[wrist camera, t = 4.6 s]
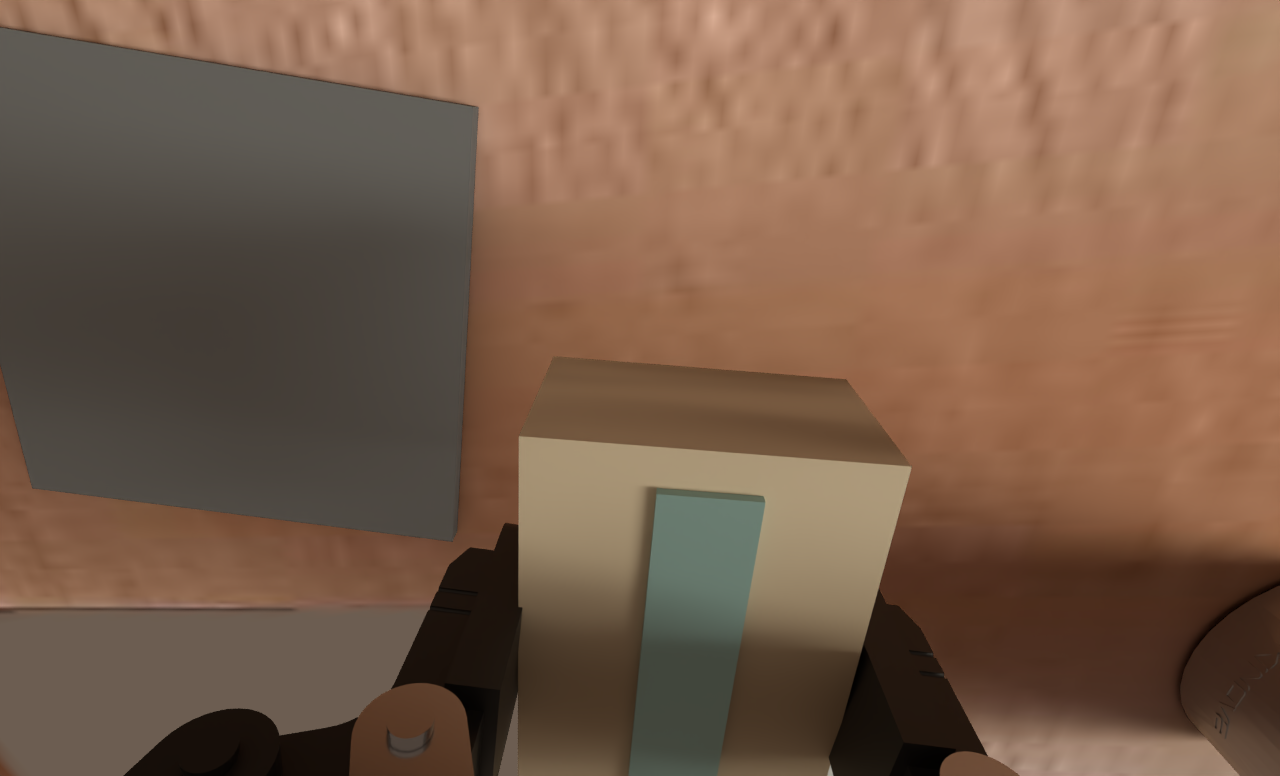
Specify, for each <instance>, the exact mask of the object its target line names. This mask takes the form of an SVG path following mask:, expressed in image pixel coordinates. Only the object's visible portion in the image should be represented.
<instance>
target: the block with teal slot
mask: <svg viewBox="0 0 1280 776" xmlns="http://www.w3.org/2000/svg"><path fill="white" fill-rule="evenodd" d="M911 468H912V466H911V465H910V464H909V462H908V461H907V460H906V458H905V457H904V456H903V454H902V453H901V452H900V450H899V449H898V448H897V446H896V445H895V444H894V442H893V441H892V440H891V438H890V437H889V436H888V434H887V433H886V432H885V430H884V429H883V428H882V426H881V425H880V424H879V422H878V421H877V420H876V418H875V417H874V416H873V414H872V413H871V412H870V410H869V409H868V408H867V406H866V405H865V404H864V402H863V401H862V400H861V398H860V397H859V396H858V394H857V393H856V392H855V390H854V389H853V388H852V386H851V385H850V384H849V383H848V381H847V380H846V379H834V378H822V377H809V376H796V375H784V374H771V373H758V372H745V371H733V370H720V369H707V368H695V367H682V366H669V365H656V364H644V363H631V362H618V361H606V360H593V359H580V358H567V357H555V356H554V357H553V360H552V362H551V364H550V366H549V369H548V371H547V373H546V375H545V378H544V380H543V382H542V385H541V387H540V389H539V391H538V394H537V396H536V398H535V401H534V403H533V405H532V407H531V410H530V412H529V414H528V416H527V419H526V421H525V423H524V426H523V428H522V430H521V432H520V435H519V562H518V607H522V608H523V609H522V619H521V629H520V639H519V649H518V776H827V775H828V771H829V767H830V761H829V755H830V752H831V750H832V747H833V744H834V742H835V739H836V737H837V734H838V731H839V729H840V726H841V723H842V720H843V716H844V713H845V709H846V705H847V702H848V698H849V694H850V691H851V687H852V683H853V680H854V676H855V673H856V669H857V665H858V662H859V658H860V654H861V651H862V647H863V643H864V640H865V636H866V632H867V629H868V625H869V621H870V618H871V614H872V610H873V607H874V603H875V600H876V596H877V592H878V589H879V585H880V581H881V578H882V574H883V570H884V567H885V563H886V559H887V556H888V552H889V548H890V545H891V541H892V537H893V534H894V530H895V526H896V523H897V519H898V516H899V512H900V508H901V505H902V501H903V497H904V494H905V490H906V486H907V483H908V479H909V475H910V472H911Z"/></svg>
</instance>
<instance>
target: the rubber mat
mask: <svg viewBox="0 0 1280 776" xmlns="http://www.w3.org/2000/svg"><path fill="white" fill-rule="evenodd" d="M477 126H478V107H475V106H469V105H463V104H457V103H451V102H445V101H439V100H433V99H427V98H421V97H415V96H409V95H403V94H397V93H391V92H385V91H379V90H373V89H367V88H361V87H355V86H349V85H343V84H337V83H331V82H325V81H319V80H313V79H307V78H301V77H295V76H289V75H283V74H278V73H272V72H266V71H260V70H254V69H248V68H242V67H236V66H230V65H224V64H218V63H212V62H206V61H200V60H194V59H188V58H182V57H176V56H170V55H164V54H158V53H152V52H146V51H140V50H134V49H128V48H122V47H116V46H110V45H104V44H98V43H92V42H86V41H80V40H74V39H68V38H63V37H57V36H51V35H45V34H39V33H33V32H27V31H21V30H15V29H9V28H3V27H0V366H1V369H2V373H3V377H4V381H5V385H6V389H7V393H8V396H9V400H10V404H11V408H12V412H13V416H14V420H15V423H16V427H17V431H18V435H19V439H20V443H21V447H22V450H23V454H24V458H25V462H26V466H27V470H28V474H29V477H30V481H31V485H32V488H34V489H42V490H50V491H58V492H65V493H73V494H81V495H89V496H97V497H105V498H113V499H120V500H128V501H136V502H144V503H152V504H160V505H168V506H175V507H183V508H191V509H199V510H207V511H215V512H223V513H231V514H238V515H246V516H254V517H262V518H270V519H278V520H286V521H293V522H301V523H309V524H317V525H325V526H333V527H341V528H348V529H356V530H364V531H372V532H380V533H388V534H396V535H403V536H411V537H419V538H427V539H435V540H443V541H451V542H453V539H454V537H455V535H456V533H457V523H458V503H459V483H460V464H461V444H462V424H463V404H464V384H465V364H466V344H467V325H468V305H469V285H470V265H471V245H472V225H473V206H474V186H475V166H476V146H477Z"/></svg>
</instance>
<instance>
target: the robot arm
mask: <svg viewBox="0 0 1280 776" xmlns="http://www.w3.org/2000/svg"><path fill="white" fill-rule="evenodd" d="M518 562H519V525H516V524H509V523H505V524H504V526H503V528H502V531H501V533H500V536H499V539H498V541H497V544H496V547H495V549H494V551H493V550H485V549H478V548H469V549H468V550H466V551H465V552H464V553H463V554H462V555H460V556H459V557H458V558H457V559H456V560H455V561H453V562H452V563H451V564H450V565H449V567H448V569H447V571H446V573H445V575H444V578H443V580H442V582H441V584H440V586H439V590H438V592H437V593H436V595H435V597H434V599H433V601H432V603H431V606H430V610H428V612H427V614H426V616H425V619H424V621H423V623H422V625H421V627H420V629H419V631H418V634H417V636H416V638H415V640H414V642H413V645H412V647H411V649H410V651H409V653H408V655H407V657H406V660H405V662H404V664H403V666H402V668H401V670H400V672H399V675H398V677H397V679H396V681H395V683H394V685H393V687H392V688H391V690H389V691H387V692H385V693H383V694H381V695H380V696H379V697H377V698H376V699H374V700H373V701H372V702H371V703H370V704H369V705H368V706H366V708H365V709H364V710H363V712H361V714H360V715H359V717H357V718H355V719H353V720H351V721H349V722H346V723H343V724H340V725H337V726H332V727H328V728H322V729H316V730H310V731H304V732H299V733H292V734H287V735H281V736H279V733H278V730H277V727H276V725H275V724H274V723H273V721H272V720H271V719H270V718H268V717H267V716H266V715H264V714H262V713H260V712H257V711H254V710H250V709H226V710H220V711H216V712H213V713H209V714H206V715H203V716H201V717H199V718H196V719H193V720H191V721H190V722H188V723H186V724H184V725H182V726H181V727H179V728H177V729H176V730H174V731H173V732H171V733H170V734H169V735H168V736H167V737H165V738H164V739H163V740H162V741H161V742H159V743H158V744H157V745H156V746H155V747H154V748H153V749H152V750H151V751H150V752H149V753H148V754H146V755H145V756H144V757H143V758H142V759H141V760H140V761H139V762H138V763H137V764H136V765H134V766H133V768H131V769H130V770H129V771H128V772H127V773H126V774H125V775H124V776H498V773H499V769H500V765H501V760H502V756H503V752H504V748H505V744H506V740H507V735H508V731H509V727H510V723H511V719H512V714H513V710H514V706H515V702H516V698H517V694H518V649H519V639H520V629H521V619H522V609H523V608H522V607H518ZM1180 692H1181V704H1182V706H1183V708H1184V710H1185V713H1186V715H1187V717H1188V719H1189V720H1190V721H1191V722H1192V723H1193V724H1194V725H1195V726H1196V727H1197V728H1198V730H1199V731H1200V732H1201V733H1202V734H1203V735H1204V736H1205V737H1206V738H1207V740H1208V741H1209V742H1210V743H1211V744H1212V745H1213V746H1214V747H1215V748H1216V750H1217V751H1218V752H1219V753H1220V754H1221V755H1222V756H1223V757H1224V758H1225V760H1226V761H1227V762H1228V763H1229V764H1230V765H1231V766H1232V767H1233V768H1234V770H1235V771H1236V772H1237V773H1238V774H1239V775H1240V776H1280V586H1277V587H1275V588H1273V589H1271V590H1269V591H1267V592H1265V593H1263V594H1261V595H1259V596H1257V597H1255V598H1253V599H1251V600H1250V601H1248V602H1247V603H1245V604H1244V605H1242V606H1241V607H1239V608H1238V609H1236V610H1235V611H1233V612H1231V613H1230V614H1229V615H1227V616H1226V617H1225V618H1224V619H1223V620H1222V621H1221V622H1220V623H1218V624H1217V625H1216V626H1215V627H1214V628H1213V629H1212V630H1211V631H1209V633H1208V634H1207V635H1206V636H1205V637H1204V639H1203V640H1202V641H1201V642H1200V644H1199V645H1198V646H1197V647H1196V649H1195V650H1194V651H1193V653H1192V655H1191V657H1190V659H1189V661H1188V663H1187V665H1186V667H1185V669H1184V672H1183V677H1182V681H1181V685H1180ZM829 761H830V765H831V769H832V772H833V776H1019V775H1018V774H1017V773H1016V772H1014V771H1013V770H1012V769H1010V768H1009V767H1007V766H1006V765H1004V764H1002V763H1001V762H999V761H997V760H995V759H993V758H991V757H988V755H987V754H986V752H985V750H984V748H983V746H982V744H981V742H980V740H979V738H978V736H977V735H976V733H975V731H974V729H973V727H972V725H971V723H970V721H969V719H968V718H967V716H966V714H965V712H964V710H963V708H962V706H961V704H960V702H959V701H958V699H957V697H956V695H955V693H954V691H953V689H952V687H951V685H950V684H949V682H948V680H947V679H944V672H943V670H942V668H941V666H940V665H939V663H938V661H937V659H936V658H934V657H933V651H932V649H931V648H930V646H929V644H928V642H927V640H926V638H925V636H924V634H923V632H922V631H921V629H920V628H919V627H918V626H917V625H916V624H915V623H914V622H913V620H912V619H911V618H910V617H909V616H908V615H907V614H906V613H905V612H904V611H903V610H902V609H901V608H900V607H899V606H896V605H888V604H886V602H885V600H884V598H883V596H882V594H881V592H880V590H879V589H878V592H877V596H876V600H875V603H874V607H873V610H872V614H871V618H870V621H869V625H868V629H867V632H866V636H865V640H864V643H863V647H862V651H861V654H860V658H859V662H858V665H857V669H856V673H855V676H854V680H853V683H852V687H851V691H850V694H849V698H848V702H847V705H846V709H845V713H844V716H843V720H842V723H841V726H840V729H839V731H838V734H837V737H836V739H835V742H834V744H833V747H832V750H831V752H830V755H829Z"/></svg>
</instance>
